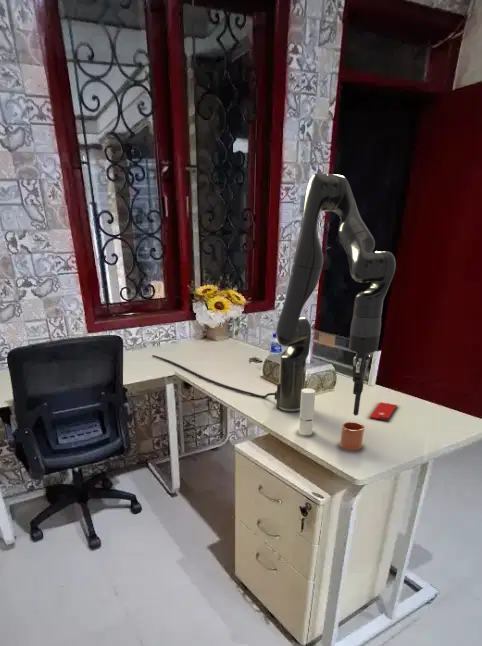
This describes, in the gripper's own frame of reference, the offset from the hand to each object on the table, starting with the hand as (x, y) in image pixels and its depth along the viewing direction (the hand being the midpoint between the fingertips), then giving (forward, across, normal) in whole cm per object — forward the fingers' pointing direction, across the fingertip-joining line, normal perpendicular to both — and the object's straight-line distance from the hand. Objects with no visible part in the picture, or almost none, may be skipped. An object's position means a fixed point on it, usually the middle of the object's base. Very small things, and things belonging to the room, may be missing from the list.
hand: (357, 393), depth 119 cm
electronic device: (+18, -31, +6) cm, 36 cm away
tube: (+18, -4, -15) cm, 24 cm away
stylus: (+7, 0, 0) cm, 7 cm away
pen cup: (+18, 0, 0) cm, 18 cm away
